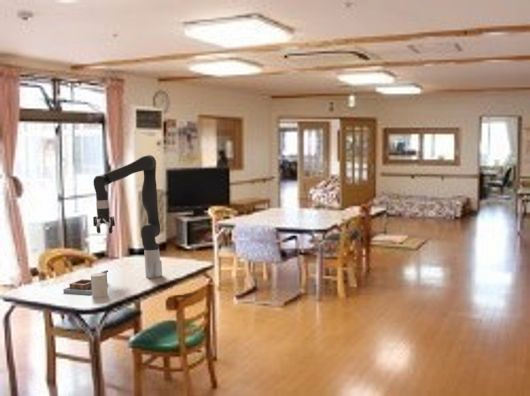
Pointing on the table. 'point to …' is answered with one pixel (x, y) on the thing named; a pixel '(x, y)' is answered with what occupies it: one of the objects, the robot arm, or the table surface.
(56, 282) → the table surface
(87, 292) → the tray
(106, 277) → the stake
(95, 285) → the cup
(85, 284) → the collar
